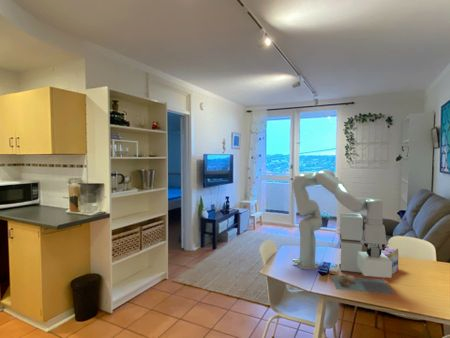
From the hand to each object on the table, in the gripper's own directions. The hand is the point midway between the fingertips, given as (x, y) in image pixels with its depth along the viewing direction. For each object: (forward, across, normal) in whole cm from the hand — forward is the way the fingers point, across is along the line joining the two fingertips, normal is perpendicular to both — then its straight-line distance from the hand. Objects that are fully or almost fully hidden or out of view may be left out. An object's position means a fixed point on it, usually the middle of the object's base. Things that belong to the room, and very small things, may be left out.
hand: (373, 255), depth 148 cm
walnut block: (+17, -15, -2) cm, 23 cm away
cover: (+9, 0, 0) cm, 9 cm away
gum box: (+18, +12, +21) cm, 30 cm away
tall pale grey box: (+18, -7, +20) cm, 28 cm away
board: (+18, -6, 0) cm, 19 cm away
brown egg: (+17, -11, +3) cm, 20 cm away
